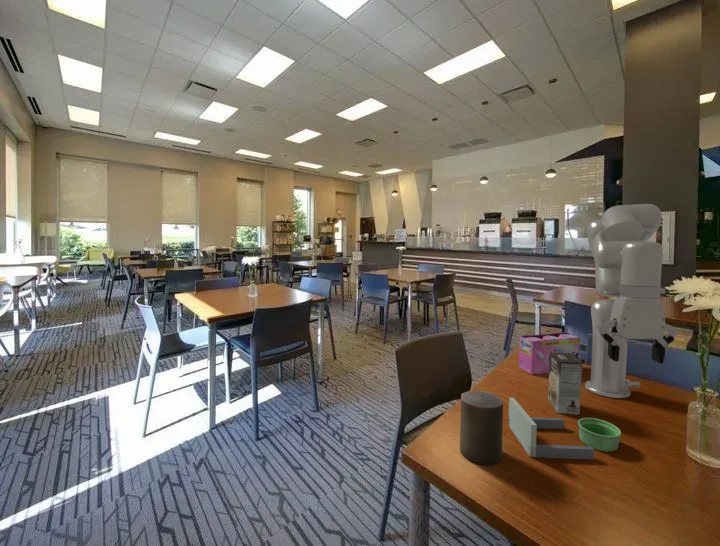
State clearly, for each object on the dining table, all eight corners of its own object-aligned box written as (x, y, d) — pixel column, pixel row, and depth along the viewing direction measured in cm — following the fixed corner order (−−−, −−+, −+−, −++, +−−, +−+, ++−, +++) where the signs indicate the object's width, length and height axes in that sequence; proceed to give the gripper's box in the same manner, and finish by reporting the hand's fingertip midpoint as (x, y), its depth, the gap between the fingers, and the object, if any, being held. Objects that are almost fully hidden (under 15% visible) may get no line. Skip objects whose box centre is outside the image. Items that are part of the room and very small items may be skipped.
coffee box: (546, 399, 110) (548, 351, 109) (568, 401, 109) (570, 352, 108) (557, 413, 101) (559, 361, 100) (581, 415, 100) (583, 362, 99)
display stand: (561, 426, 94) (563, 398, 93) (593, 459, 80) (595, 426, 79) (508, 425, 95) (509, 397, 94) (530, 457, 81) (531, 425, 80)
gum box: (566, 363, 144) (568, 332, 142) (583, 370, 136) (584, 336, 135) (517, 368, 138) (518, 335, 137) (531, 375, 130) (532, 341, 129)
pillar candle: (498, 470, 76) (501, 406, 75) (455, 457, 81) (456, 396, 80) (504, 448, 84) (506, 390, 83) (464, 437, 89) (465, 382, 88)
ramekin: (615, 458, 80) (616, 441, 80) (572, 442, 87) (572, 425, 86) (624, 443, 86) (625, 427, 86) (583, 429, 93) (584, 414, 92)
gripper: (668, 291, 85) (663, 357, 86) (592, 290, 88) (589, 354, 89) (692, 295, 78) (686, 368, 79) (608, 294, 81) (604, 364, 82)
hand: (635, 360), depth 84 cm, fingers open, 9 cm apart
